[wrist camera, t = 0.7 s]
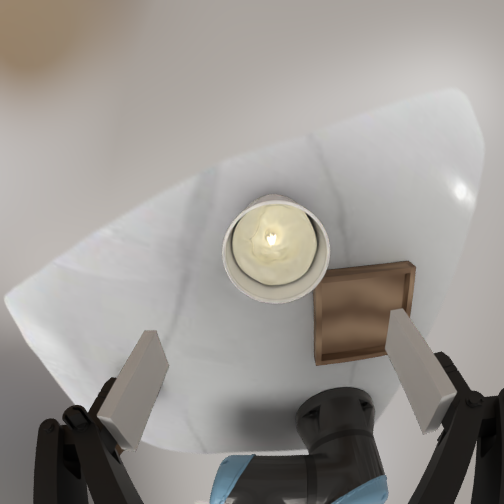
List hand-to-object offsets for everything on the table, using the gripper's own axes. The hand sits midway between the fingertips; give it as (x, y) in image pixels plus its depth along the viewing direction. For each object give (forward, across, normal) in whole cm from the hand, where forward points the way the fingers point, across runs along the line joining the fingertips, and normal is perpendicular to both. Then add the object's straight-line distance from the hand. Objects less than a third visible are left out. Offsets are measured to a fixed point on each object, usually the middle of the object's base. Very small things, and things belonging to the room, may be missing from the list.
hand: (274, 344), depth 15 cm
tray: (+23, -12, +14) cm, 30 cm away
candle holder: (+24, 0, 0) cm, 24 cm away
